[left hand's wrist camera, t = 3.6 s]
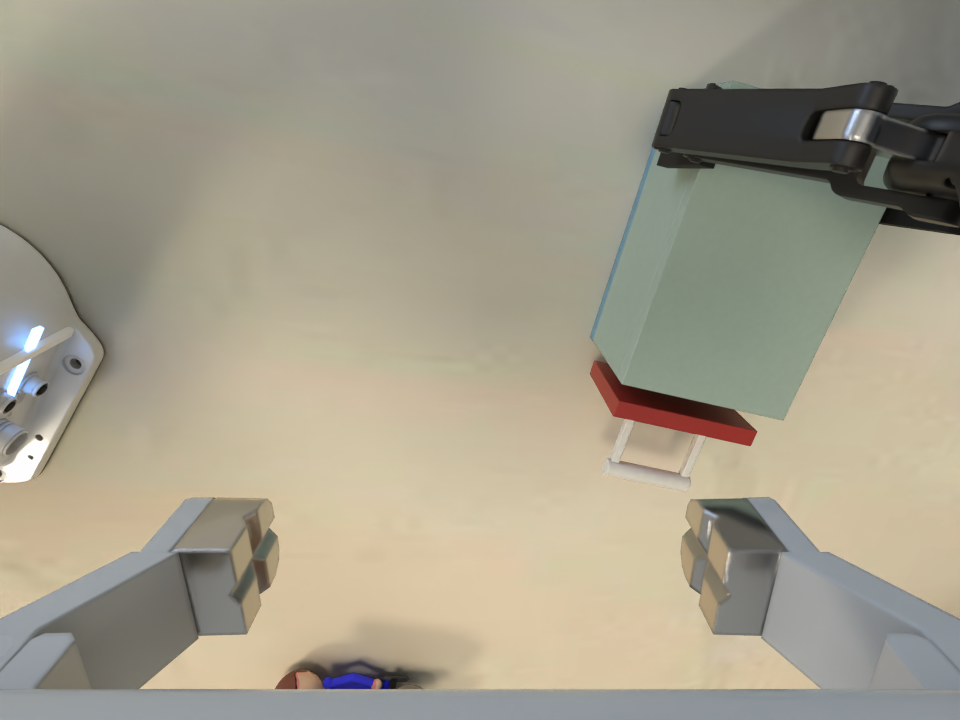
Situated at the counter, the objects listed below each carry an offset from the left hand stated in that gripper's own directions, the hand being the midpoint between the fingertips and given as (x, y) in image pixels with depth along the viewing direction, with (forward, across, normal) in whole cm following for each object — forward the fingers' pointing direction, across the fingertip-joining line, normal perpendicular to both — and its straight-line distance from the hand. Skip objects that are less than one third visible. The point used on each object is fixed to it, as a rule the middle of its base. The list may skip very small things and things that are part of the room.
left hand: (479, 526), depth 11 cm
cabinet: (+33, -16, -1) cm, 37 cm away
